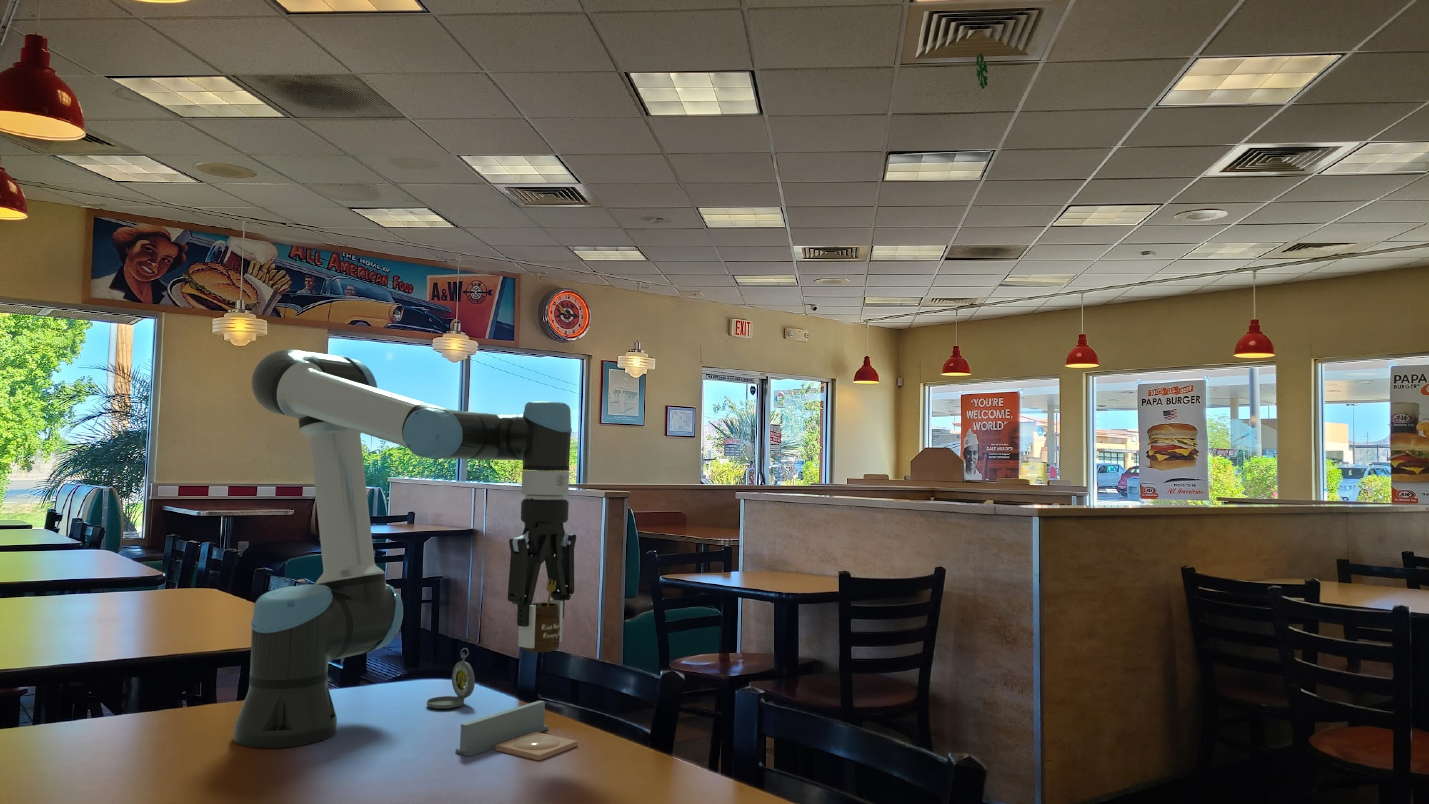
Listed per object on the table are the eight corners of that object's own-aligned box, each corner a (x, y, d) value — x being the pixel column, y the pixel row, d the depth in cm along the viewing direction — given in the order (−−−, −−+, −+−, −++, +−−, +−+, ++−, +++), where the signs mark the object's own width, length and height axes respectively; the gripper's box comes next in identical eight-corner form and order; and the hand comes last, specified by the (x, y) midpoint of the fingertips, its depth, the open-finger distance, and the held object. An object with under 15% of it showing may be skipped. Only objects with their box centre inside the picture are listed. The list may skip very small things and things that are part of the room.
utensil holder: (513, 650, 148) (516, 573, 149) (536, 644, 154) (538, 570, 155) (546, 654, 146) (548, 576, 147) (567, 647, 152) (569, 572, 153)
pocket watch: (419, 709, 170) (422, 653, 171) (440, 698, 179) (443, 644, 179) (462, 712, 169) (464, 655, 170) (481, 701, 177) (483, 647, 178)
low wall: (455, 752, 146) (456, 723, 146) (534, 726, 161) (535, 699, 161) (469, 756, 144) (470, 726, 144) (548, 729, 159) (548, 702, 160)
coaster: (495, 750, 147) (495, 744, 147) (534, 736, 155) (534, 731, 155) (539, 760, 143) (539, 754, 143) (577, 746, 150) (577, 740, 150)
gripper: (522, 499, 142) (516, 656, 140) (600, 497, 158) (595, 638, 156) (485, 498, 145) (480, 650, 144) (565, 496, 161) (560, 633, 160)
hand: (540, 643), depth 150 cm, fingers closed on utensil holder, 6 cm apart
